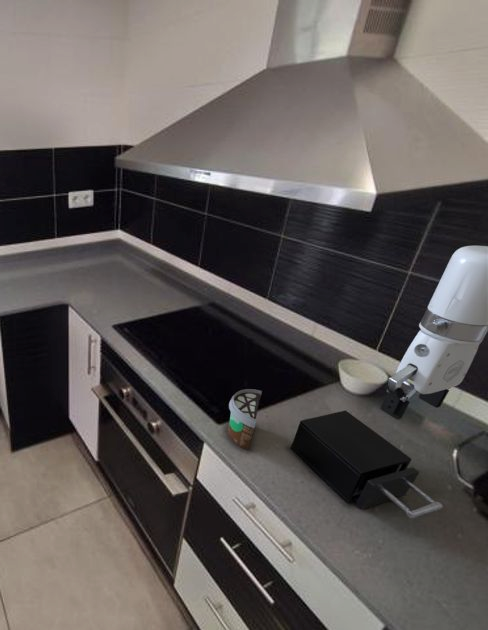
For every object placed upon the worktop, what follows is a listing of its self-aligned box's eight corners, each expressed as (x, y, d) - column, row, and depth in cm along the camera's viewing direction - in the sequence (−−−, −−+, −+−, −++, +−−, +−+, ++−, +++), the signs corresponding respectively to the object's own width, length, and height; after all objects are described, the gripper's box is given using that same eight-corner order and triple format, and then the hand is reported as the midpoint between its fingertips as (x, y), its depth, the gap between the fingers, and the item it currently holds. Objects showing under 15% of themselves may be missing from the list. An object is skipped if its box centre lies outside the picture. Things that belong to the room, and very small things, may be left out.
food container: (227, 413, 99) (235, 382, 94) (253, 421, 96) (262, 389, 91) (218, 444, 89) (226, 411, 84) (246, 454, 86) (256, 421, 82)
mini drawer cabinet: (394, 488, 78) (412, 459, 74) (346, 503, 75) (361, 473, 71) (333, 437, 91) (345, 410, 87) (290, 448, 88) (300, 420, 84)
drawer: (439, 523, 71) (456, 499, 67) (392, 539, 68) (407, 514, 65) (345, 445, 87) (355, 423, 84) (304, 456, 85) (313, 433, 82)
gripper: (442, 345, 55) (396, 434, 63) (518, 327, 60) (466, 411, 67) (389, 322, 61) (353, 405, 69) (461, 307, 66) (420, 386, 74)
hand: (409, 408), depth 68 cm, fingers open, 9 cm apart
